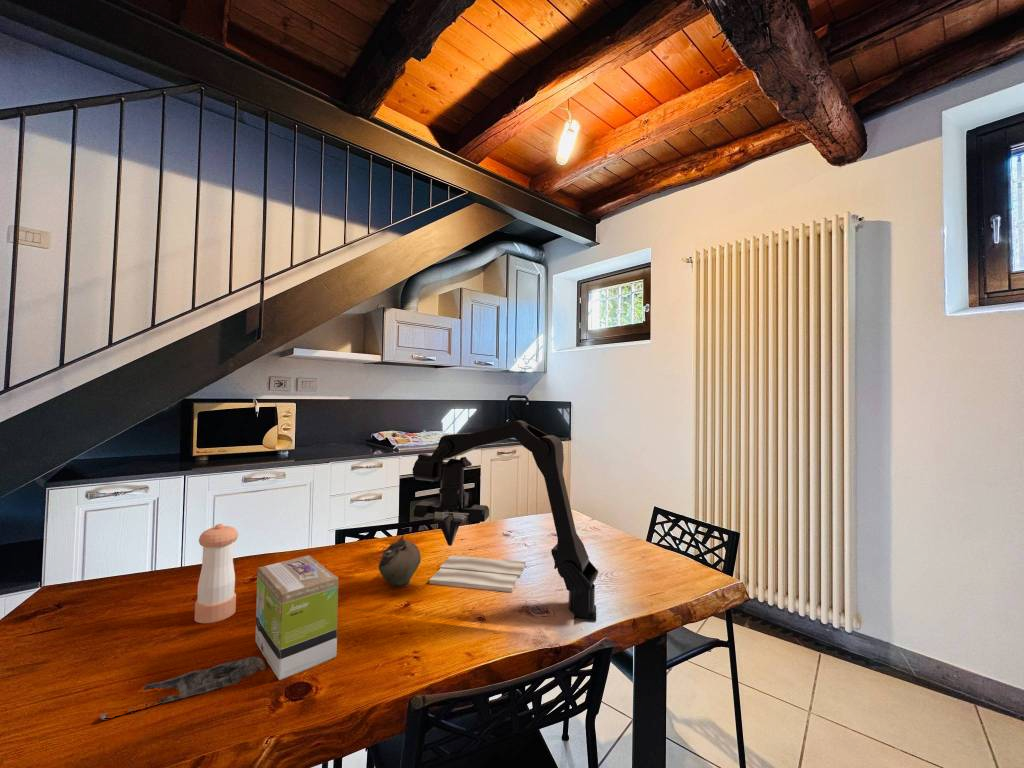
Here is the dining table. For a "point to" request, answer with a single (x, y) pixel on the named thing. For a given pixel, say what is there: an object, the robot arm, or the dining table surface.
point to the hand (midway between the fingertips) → (450, 545)
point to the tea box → (296, 615)
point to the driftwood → (208, 678)
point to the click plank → (474, 580)
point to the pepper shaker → (216, 575)
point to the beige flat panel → (484, 565)
